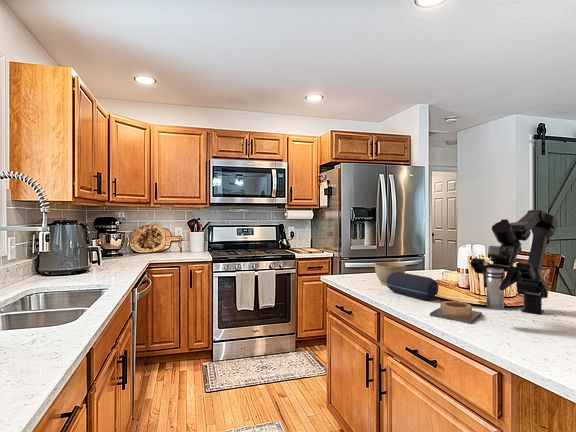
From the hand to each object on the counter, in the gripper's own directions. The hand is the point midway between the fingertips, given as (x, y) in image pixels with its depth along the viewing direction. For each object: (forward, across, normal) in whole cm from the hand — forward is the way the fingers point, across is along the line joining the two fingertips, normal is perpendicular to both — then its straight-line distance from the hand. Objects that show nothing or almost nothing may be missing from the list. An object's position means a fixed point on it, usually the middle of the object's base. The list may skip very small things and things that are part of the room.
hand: (493, 288), depth 115 cm
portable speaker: (-2, -43, +22) cm, 48 cm away
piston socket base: (+7, -15, +12) cm, 20 cm away
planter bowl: (-12, -66, +31) cm, 74 cm away
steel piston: (+4, 0, +6) cm, 7 cm away
